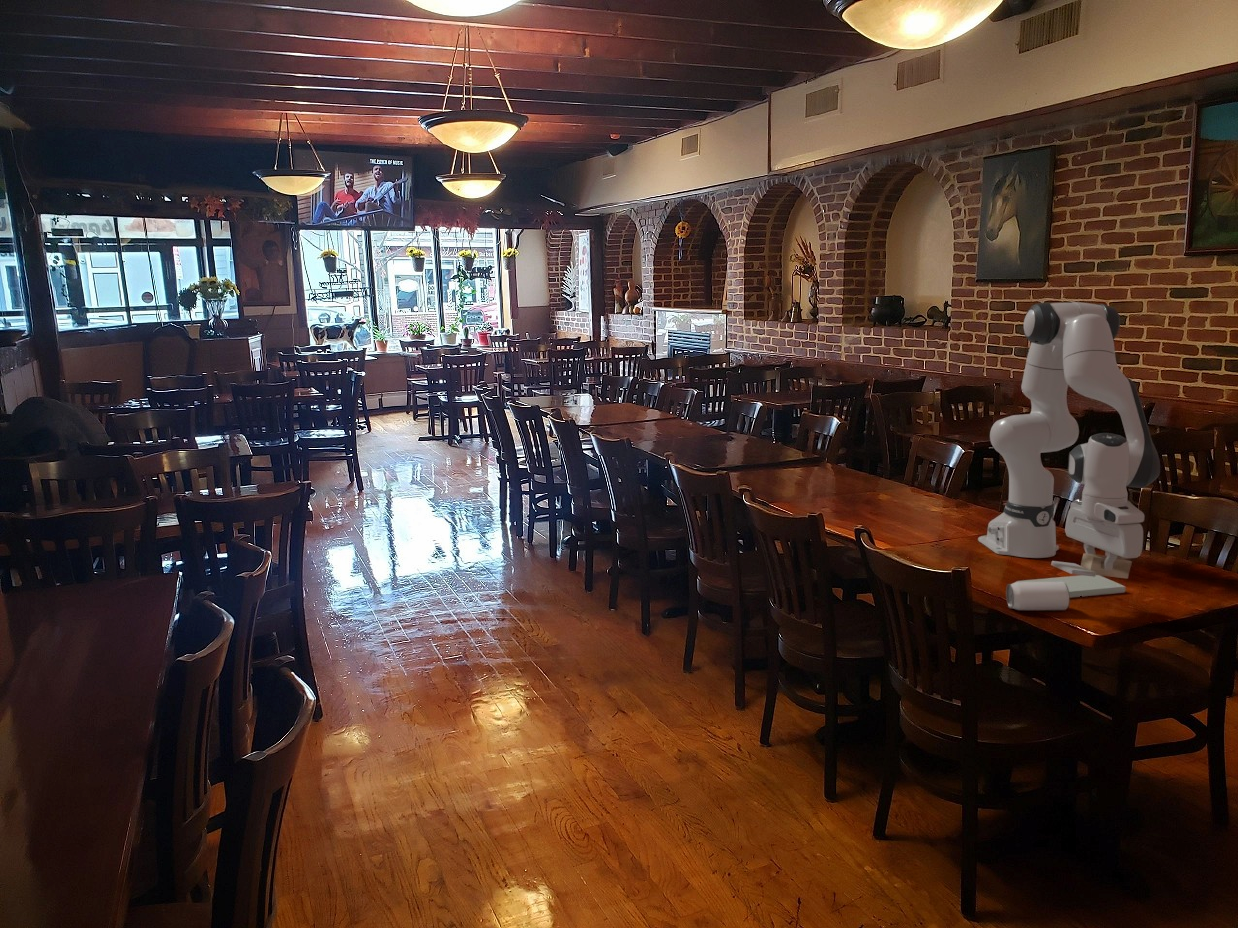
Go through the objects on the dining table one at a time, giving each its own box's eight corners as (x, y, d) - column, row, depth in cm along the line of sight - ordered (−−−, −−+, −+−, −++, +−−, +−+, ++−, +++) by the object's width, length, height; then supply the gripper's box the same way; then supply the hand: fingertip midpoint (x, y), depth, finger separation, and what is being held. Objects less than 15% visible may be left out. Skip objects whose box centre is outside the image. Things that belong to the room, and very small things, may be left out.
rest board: (1016, 586, 213) (1016, 581, 213) (1095, 579, 217) (1096, 573, 217) (1042, 600, 204) (1042, 594, 203) (1124, 592, 207) (1125, 586, 207)
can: (1070, 585, 193) (1013, 586, 195) (1070, 613, 194) (1013, 613, 196) (1060, 578, 200) (1005, 578, 202) (1060, 605, 200) (1005, 605, 202)
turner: (1050, 564, 197) (1054, 548, 197) (1111, 571, 200) (1115, 555, 200) (1071, 574, 190) (1075, 556, 190) (1133, 581, 193) (1138, 563, 193)
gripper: (1060, 497, 202) (1056, 554, 205) (1124, 518, 182) (1119, 581, 185) (1084, 496, 203) (1080, 552, 206) (1150, 516, 184) (1145, 578, 186)
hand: (1099, 566), depth 195 cm, fingers closed on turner, 3 cm apart
